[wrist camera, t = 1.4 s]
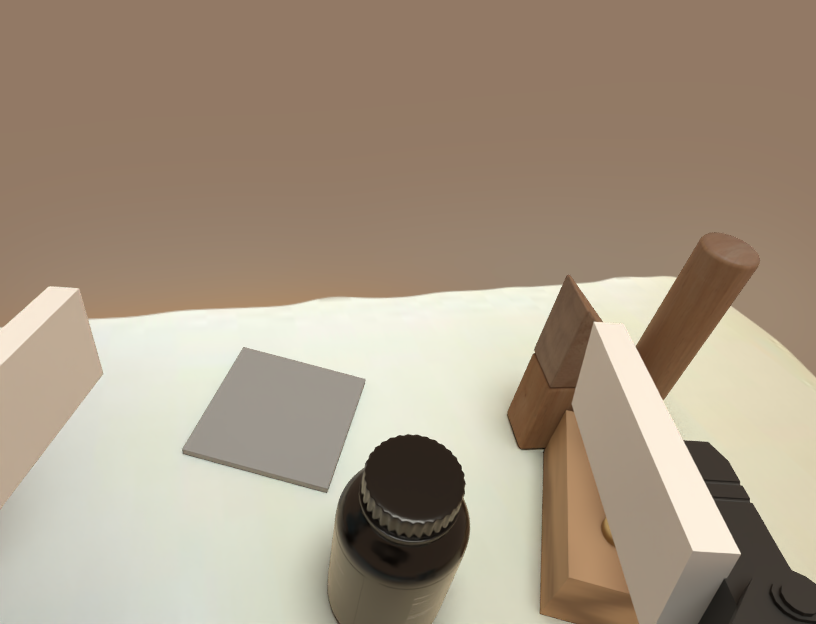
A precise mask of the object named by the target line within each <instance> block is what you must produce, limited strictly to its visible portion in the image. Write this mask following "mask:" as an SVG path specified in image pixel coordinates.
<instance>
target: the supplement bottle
mask: <svg viewBox="0 0 816 624" xmlns="http://www.w3.org/2000/svg"><path fill="white" fill-rule="evenodd" d="M465 485H466V483H465V480H464V473H463V471H462V467H461V465H460V464H459V463H458V461H457V458H456V457H455V456H454V455H453V454H452V452H451V451H450V450H448V449H446V448H445V446H444V445H442V444H439V443H438V442H437V441H436V440H432V439H429V438H428V437H422V436H419V435H409V434H407V435H405V436H401V435H399V436H397V437H395V438H390V439H388V440H387V441H384V442H382V443H381V445H379V446H377V447H375V450H374V451H373V452H372V453H371V454H370V455H369V459H368V460H367V461H366V463H365V468H363V469H362V470H361V471H359V472H358V473H357V474H356V475H355V476H354V477H353V478H352V479H351V480H350V481H349V482H348V484H347V485H346V487H345V488H344V490H343V492H342V494H341V496H340V499H339V502H338V506H337V510H336V516H335V524H334V532H333V540H332V548H331V556H330V563H329V572H328V597H329V602H330V605H331V608H332V610H333V613H334V615H335V617H336V618H337V620H338V621H339V623H340V624H432V622H433V621H434V619H435V617H436V615H437V613H438V611H439V609H440V607H441V605H442V603H443V601H444V598H445V596H446V594H447V592H448V589H449V587H450V585H451V583H452V580H453V578H454V576H455V574H456V571H457V569H458V567H459V565H460V562H461V560H462V558H463V556H464V553H465V550H466V548H467V544H468V540H469V535H470V518H469V512H468V509H467V505H466V503H465V500H464V498H463V497H464V494H465V490H464V488H465Z"/></svg>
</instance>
